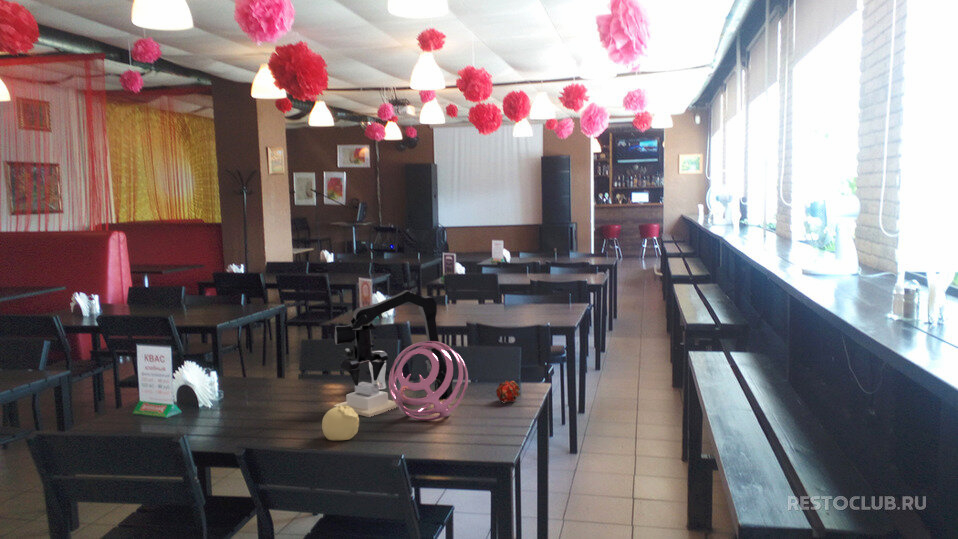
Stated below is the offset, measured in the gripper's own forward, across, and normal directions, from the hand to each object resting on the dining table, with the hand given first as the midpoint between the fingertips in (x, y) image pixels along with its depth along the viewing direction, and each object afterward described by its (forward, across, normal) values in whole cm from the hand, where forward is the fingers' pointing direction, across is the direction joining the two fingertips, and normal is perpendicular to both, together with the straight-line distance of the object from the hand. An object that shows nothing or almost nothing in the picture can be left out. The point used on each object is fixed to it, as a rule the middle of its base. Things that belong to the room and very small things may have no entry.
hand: (366, 383), depth 260 cm
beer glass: (+9, -21, -17) cm, 29 cm away
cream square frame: (+9, 0, 0) cm, 9 cm away
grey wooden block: (+8, 0, 0) cm, 8 cm away
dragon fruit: (+9, -33, +41) cm, 54 cm away
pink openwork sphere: (+9, -3, +28) cm, 30 cm away
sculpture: (+10, +28, +19) cm, 35 cm away
